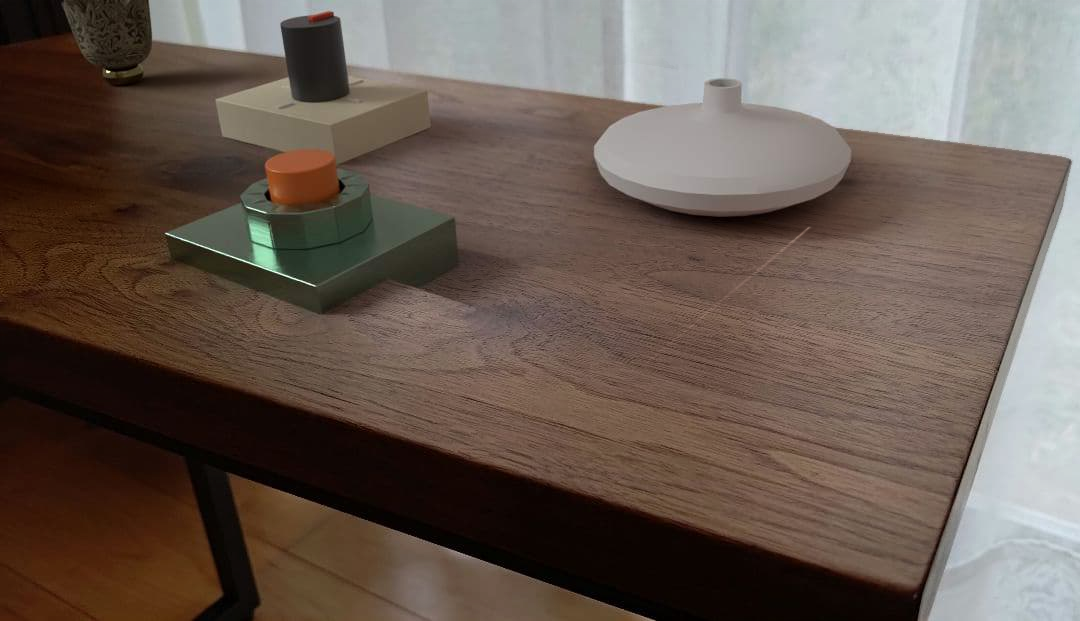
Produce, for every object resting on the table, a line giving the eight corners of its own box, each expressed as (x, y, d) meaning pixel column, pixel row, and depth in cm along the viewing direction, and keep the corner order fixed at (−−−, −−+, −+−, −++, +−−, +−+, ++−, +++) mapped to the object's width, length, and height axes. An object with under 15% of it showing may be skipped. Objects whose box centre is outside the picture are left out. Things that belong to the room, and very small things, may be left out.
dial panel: (222, 136, 78) (214, 97, 76) (318, 104, 85) (312, 67, 83) (336, 165, 71) (330, 122, 69) (431, 127, 78) (427, 87, 76)
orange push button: (257, 201, 53) (250, 164, 52) (308, 180, 55) (303, 144, 54) (302, 214, 51) (296, 176, 50) (354, 192, 53) (349, 155, 52)
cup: (92, 75, 97) (70, -10, 93) (170, 68, 98) (152, -16, 94) (75, 95, 90) (52, 5, 87) (160, 88, 92) (140, -1, 88)
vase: (772, 267, 53) (781, 141, 50) (543, 206, 62) (538, 95, 59) (887, 179, 64) (901, 70, 61) (678, 138, 73) (680, 41, 70)
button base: (176, 282, 55) (155, 197, 52) (313, 221, 62) (301, 144, 59) (325, 341, 48) (309, 247, 46) (459, 266, 55) (452, 181, 53)
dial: (319, 105, 74) (307, 25, 71) (279, 97, 76) (266, 20, 73) (361, 90, 77) (352, 13, 74) (322, 83, 79) (311, 8, 76)
